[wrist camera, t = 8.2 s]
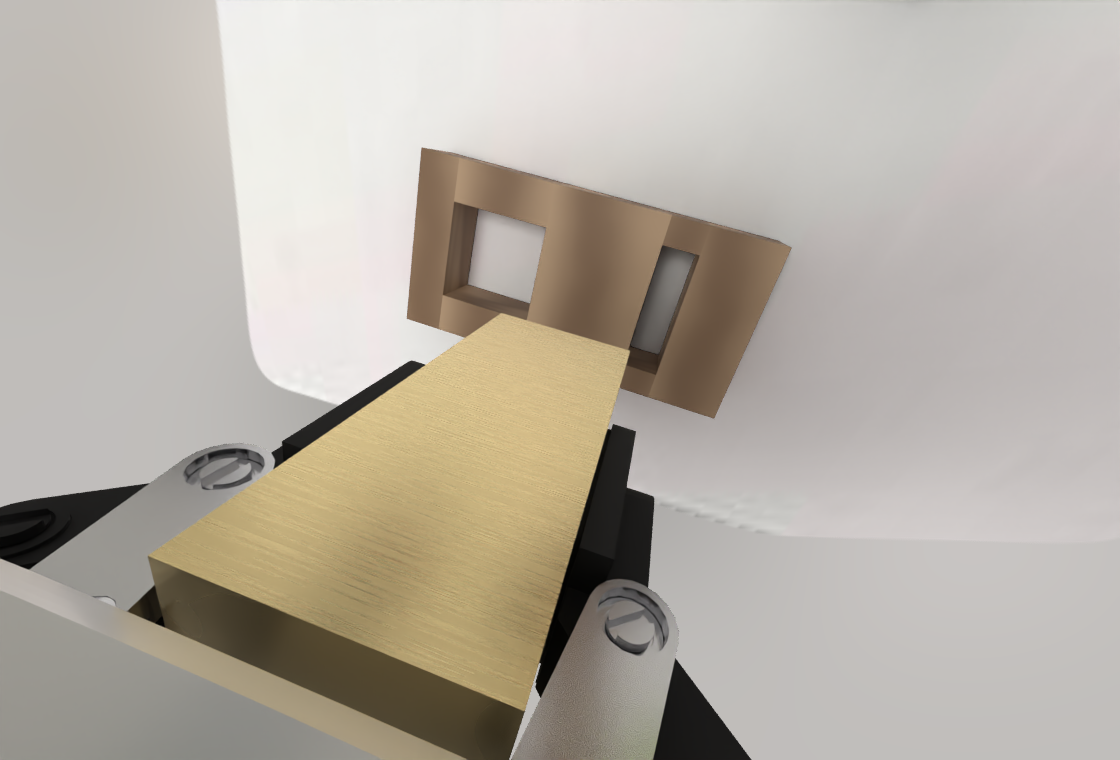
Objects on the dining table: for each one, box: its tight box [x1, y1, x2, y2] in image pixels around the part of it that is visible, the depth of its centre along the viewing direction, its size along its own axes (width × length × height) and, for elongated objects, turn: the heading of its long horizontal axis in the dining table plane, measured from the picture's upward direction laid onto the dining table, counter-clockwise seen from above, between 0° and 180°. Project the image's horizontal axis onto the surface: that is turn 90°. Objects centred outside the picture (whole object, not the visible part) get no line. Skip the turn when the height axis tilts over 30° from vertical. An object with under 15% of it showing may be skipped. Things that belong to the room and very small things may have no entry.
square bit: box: [148, 313, 630, 760], centre depth 10 cm, size 4×4×10 cm
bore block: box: [407, 148, 791, 418], centre depth 27 cm, size 20×10×4 cm, turn 76°
